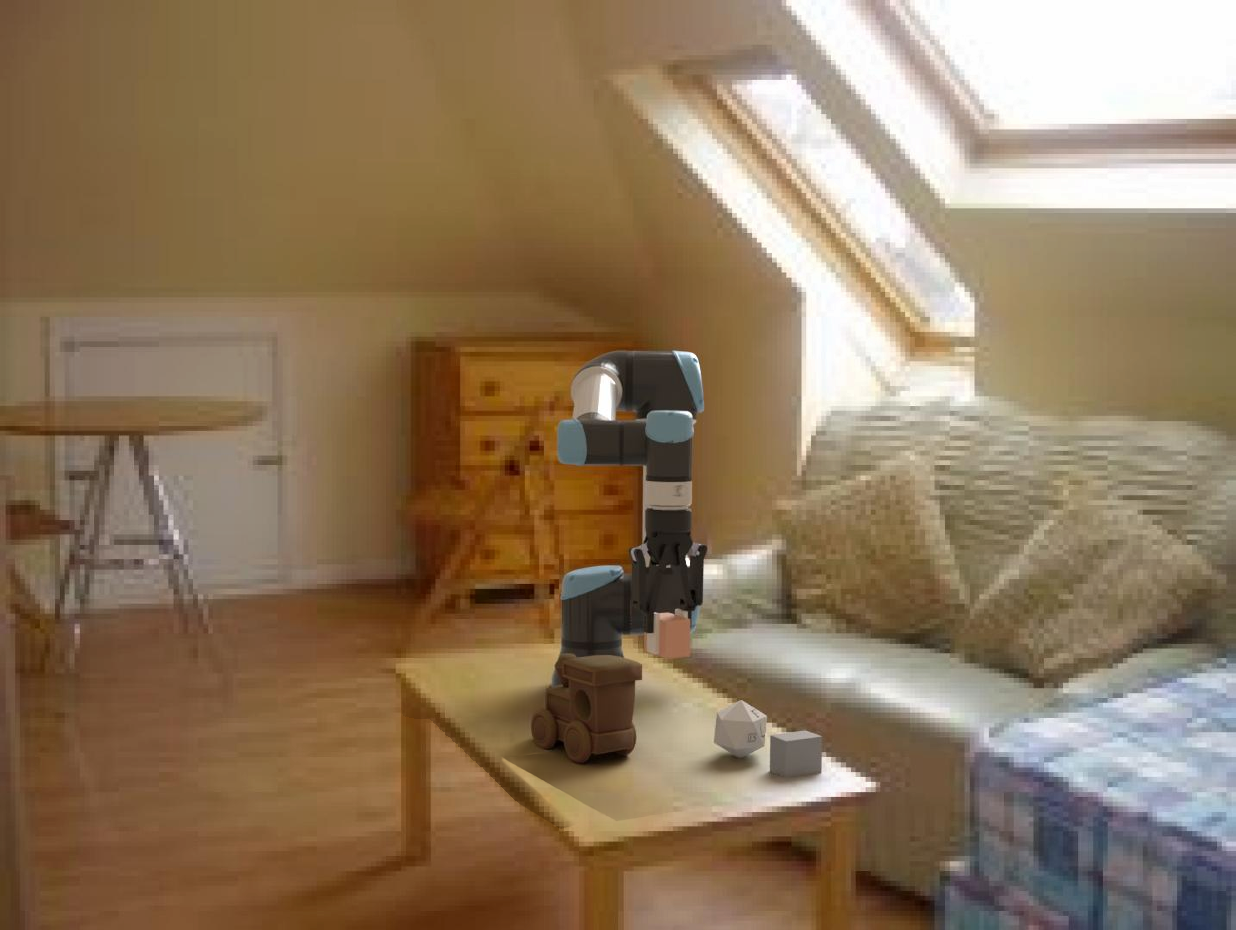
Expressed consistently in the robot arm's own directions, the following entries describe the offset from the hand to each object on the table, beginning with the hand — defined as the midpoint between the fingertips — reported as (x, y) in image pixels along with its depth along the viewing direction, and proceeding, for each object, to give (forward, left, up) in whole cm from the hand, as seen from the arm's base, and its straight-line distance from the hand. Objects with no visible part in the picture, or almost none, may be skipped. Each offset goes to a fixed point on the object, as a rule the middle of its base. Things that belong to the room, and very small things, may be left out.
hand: (667, 651), depth 242 cm
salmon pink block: (0, 0, 0) cm, 0 cm away
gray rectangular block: (+10, +18, -20) cm, 29 cm away
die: (-1, +15, -20) cm, 25 cm away
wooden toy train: (-16, -7, -20) cm, 26 cm away
